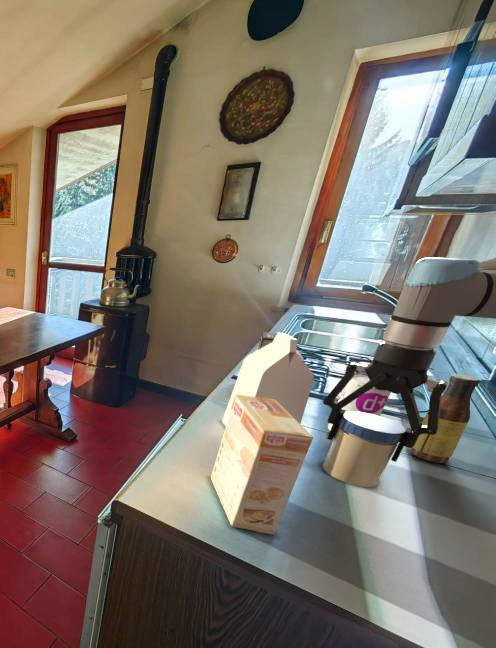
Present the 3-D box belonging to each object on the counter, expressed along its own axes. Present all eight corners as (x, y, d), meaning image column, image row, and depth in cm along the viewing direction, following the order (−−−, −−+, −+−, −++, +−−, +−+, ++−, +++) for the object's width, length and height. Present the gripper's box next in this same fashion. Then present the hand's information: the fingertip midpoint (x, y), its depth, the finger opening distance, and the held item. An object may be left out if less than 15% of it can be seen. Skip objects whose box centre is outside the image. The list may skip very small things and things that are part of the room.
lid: (361, 441, 76) (365, 431, 75) (327, 419, 84) (331, 409, 83) (415, 445, 75) (420, 435, 74) (375, 422, 83) (380, 412, 82)
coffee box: (249, 375, 138) (262, 331, 131) (270, 379, 134) (285, 334, 128) (248, 383, 131) (262, 337, 124) (271, 388, 127) (287, 340, 121)
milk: (221, 421, 105) (248, 327, 95) (269, 426, 103) (301, 331, 93) (239, 444, 94) (271, 341, 84) (292, 450, 92) (332, 345, 82)
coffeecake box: (276, 536, 67) (316, 437, 59) (230, 527, 68) (262, 430, 61) (247, 484, 80) (276, 398, 72) (209, 477, 82) (233, 393, 74)
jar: (382, 477, 83) (406, 427, 78) (372, 493, 78) (397, 441, 73) (329, 457, 89) (349, 411, 85) (316, 471, 84) (337, 422, 80)
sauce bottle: (455, 463, 88) (501, 382, 80) (432, 465, 87) (477, 384, 79) (420, 448, 94) (461, 371, 86) (399, 450, 93) (438, 373, 85)
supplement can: (375, 445, 95) (402, 389, 89) (334, 439, 97) (357, 384, 92) (359, 430, 102) (382, 377, 96) (321, 424, 104) (342, 372, 99)
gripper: (502, 356, 66) (440, 466, 75) (338, 329, 82) (303, 422, 91) (501, 365, 62) (435, 480, 71) (328, 334, 78) (292, 431, 87)
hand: (361, 447), depth 81 cm, fingers closed on lid, 9 cm apart
